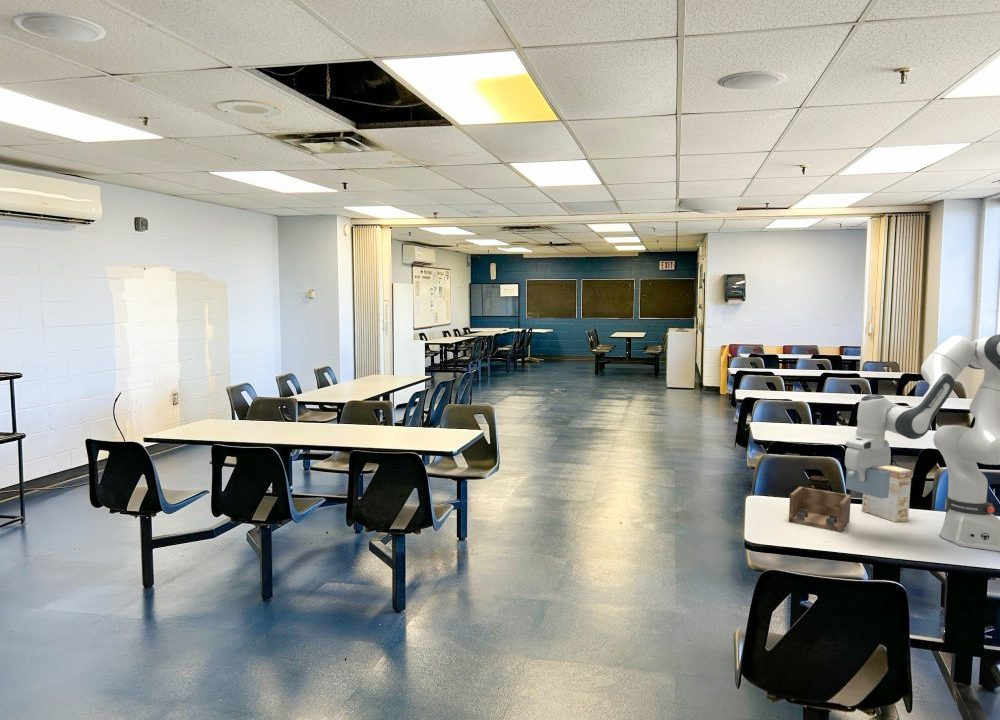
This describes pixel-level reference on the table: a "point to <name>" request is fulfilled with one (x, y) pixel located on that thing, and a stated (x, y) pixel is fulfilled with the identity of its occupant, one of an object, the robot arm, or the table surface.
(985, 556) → the table surface
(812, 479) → the coffee cup
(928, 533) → the table surface
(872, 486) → the door
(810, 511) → the cabinet
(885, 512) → the coffeecake box
